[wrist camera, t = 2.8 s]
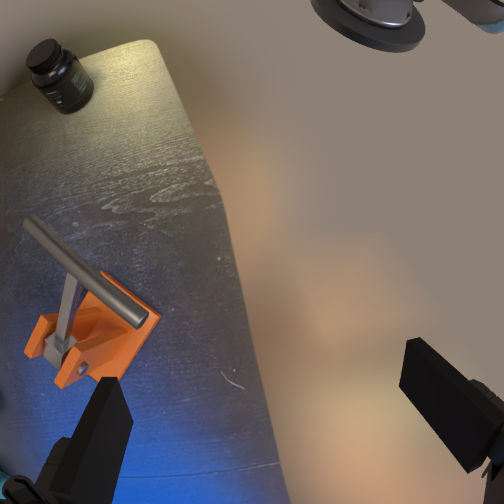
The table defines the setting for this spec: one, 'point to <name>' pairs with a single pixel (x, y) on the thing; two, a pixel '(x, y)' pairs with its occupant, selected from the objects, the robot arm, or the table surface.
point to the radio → (1, 479)
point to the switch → (78, 291)
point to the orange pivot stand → (95, 339)
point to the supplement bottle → (59, 76)
